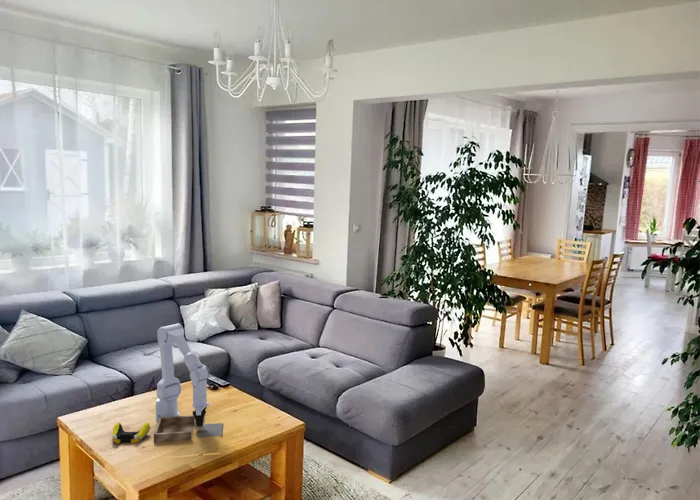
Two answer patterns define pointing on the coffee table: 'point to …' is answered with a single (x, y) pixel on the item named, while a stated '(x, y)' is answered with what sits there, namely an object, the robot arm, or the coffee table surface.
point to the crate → (174, 429)
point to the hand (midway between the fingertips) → (200, 423)
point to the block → (202, 425)
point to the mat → (211, 430)
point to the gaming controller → (129, 434)
